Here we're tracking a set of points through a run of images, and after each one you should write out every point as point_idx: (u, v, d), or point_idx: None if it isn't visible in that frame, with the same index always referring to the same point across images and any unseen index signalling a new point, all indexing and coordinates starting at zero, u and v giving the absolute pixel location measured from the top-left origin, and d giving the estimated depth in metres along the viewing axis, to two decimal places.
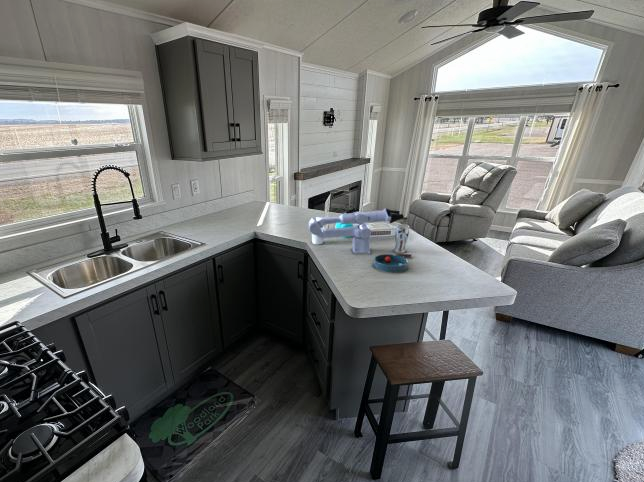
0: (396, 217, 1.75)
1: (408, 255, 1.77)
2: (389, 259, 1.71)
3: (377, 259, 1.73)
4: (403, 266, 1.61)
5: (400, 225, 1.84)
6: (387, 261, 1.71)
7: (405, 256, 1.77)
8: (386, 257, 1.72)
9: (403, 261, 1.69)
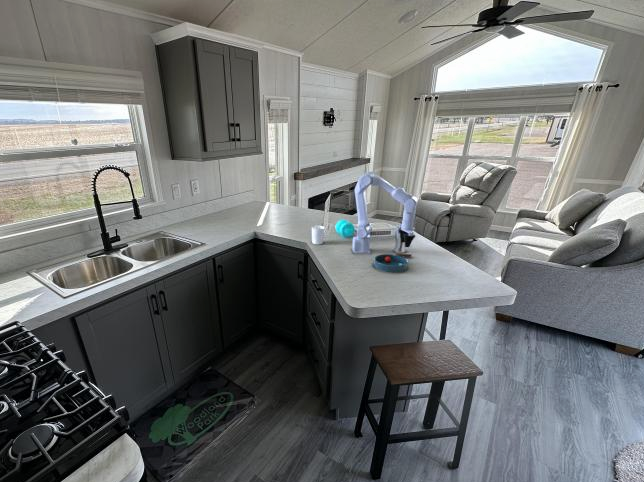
0: (408, 240, 1.70)
1: (408, 255, 1.77)
2: (389, 259, 1.71)
3: (377, 259, 1.73)
4: (403, 266, 1.61)
5: (400, 225, 1.84)
6: (387, 261, 1.71)
7: (405, 256, 1.77)
8: (386, 257, 1.72)
9: (403, 261, 1.69)
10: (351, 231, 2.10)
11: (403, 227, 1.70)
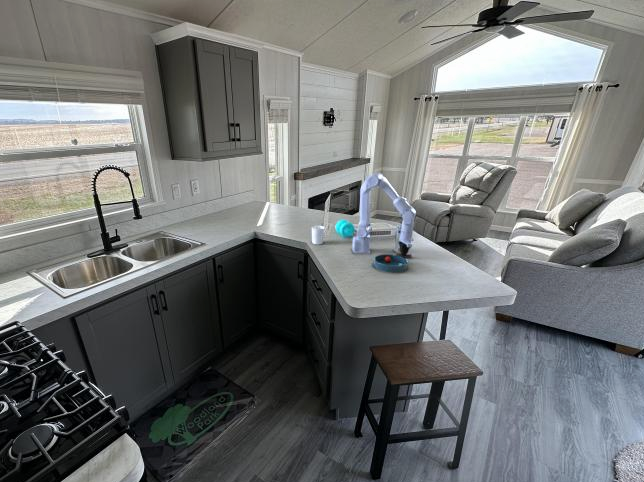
0: (404, 249, 1.75)
1: (408, 255, 1.77)
2: (389, 259, 1.71)
3: (377, 259, 1.73)
4: (403, 266, 1.61)
5: (400, 225, 1.84)
6: (387, 261, 1.71)
7: (405, 256, 1.77)
8: (386, 257, 1.72)
9: (403, 261, 1.69)
10: (351, 231, 2.10)
11: (401, 238, 1.73)
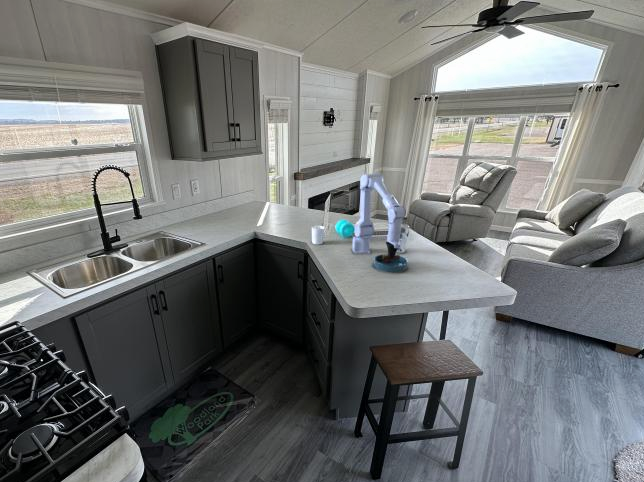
0: (392, 250, 1.63)
1: (396, 256, 1.65)
2: None
3: (377, 259, 1.73)
4: (403, 266, 1.61)
5: None
6: (387, 261, 1.71)
7: None
8: None
9: (403, 261, 1.69)
10: (351, 231, 2.10)
11: (389, 238, 1.61)
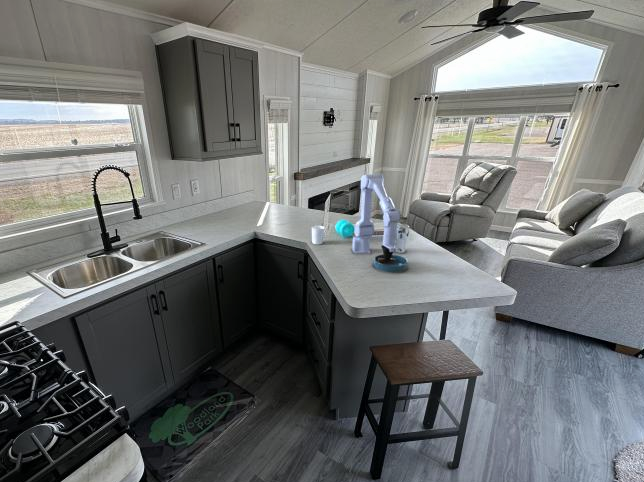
0: (387, 254, 1.63)
1: (392, 260, 1.65)
2: None
3: (377, 259, 1.73)
4: (403, 266, 1.61)
5: (400, 225, 1.84)
6: None
7: (388, 261, 1.65)
8: None
9: (403, 261, 1.69)
10: (351, 231, 2.10)
11: (384, 242, 1.61)
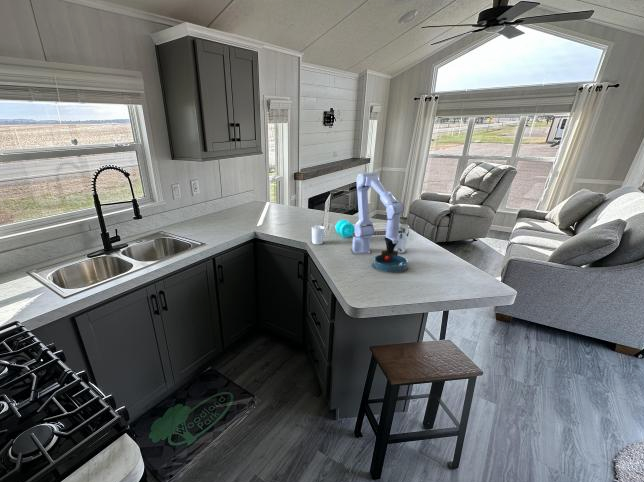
0: (390, 246, 1.66)
1: (394, 252, 1.68)
2: (388, 256, 1.72)
3: (377, 259, 1.73)
4: (403, 266, 1.61)
5: (400, 225, 1.84)
6: (387, 258, 1.72)
7: (391, 253, 1.68)
8: None
9: (403, 261, 1.69)
10: (351, 231, 2.10)
11: (387, 234, 1.64)
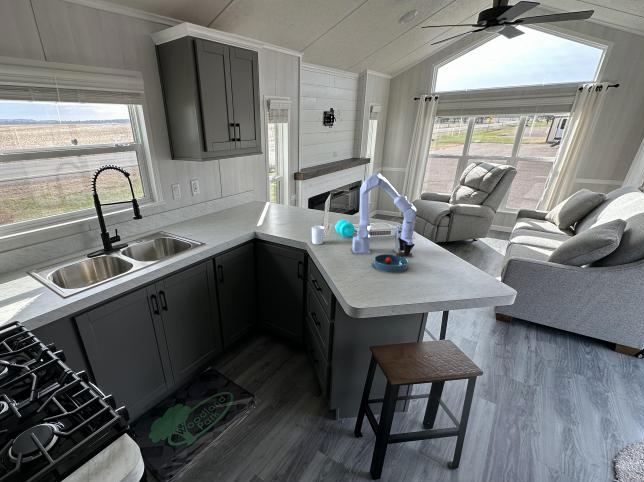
0: (407, 249, 1.74)
1: (409, 254, 1.79)
2: (389, 262, 1.70)
3: (377, 259, 1.73)
4: (403, 266, 1.61)
5: (400, 225, 1.84)
6: None
7: None
8: (387, 259, 1.70)
9: (403, 261, 1.69)
10: (351, 231, 2.10)
11: (402, 236, 1.74)
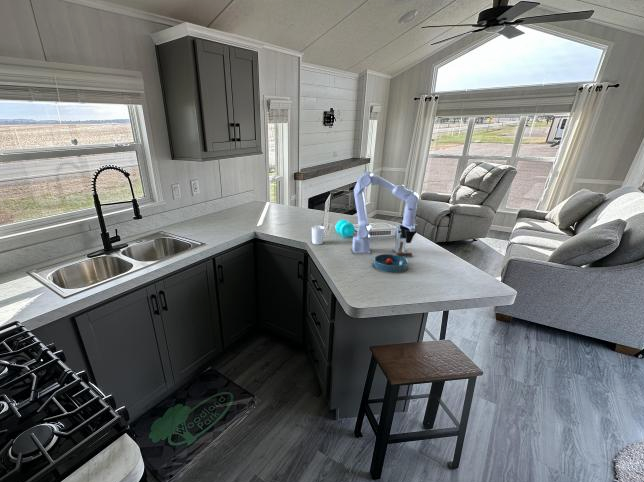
0: (409, 236, 1.71)
1: (409, 254, 1.79)
2: None
3: (377, 259, 1.73)
4: (403, 266, 1.61)
5: None
6: None
7: (406, 255, 1.79)
8: (387, 262, 1.69)
9: (403, 261, 1.69)
10: (351, 231, 2.10)
11: (404, 223, 1.71)
